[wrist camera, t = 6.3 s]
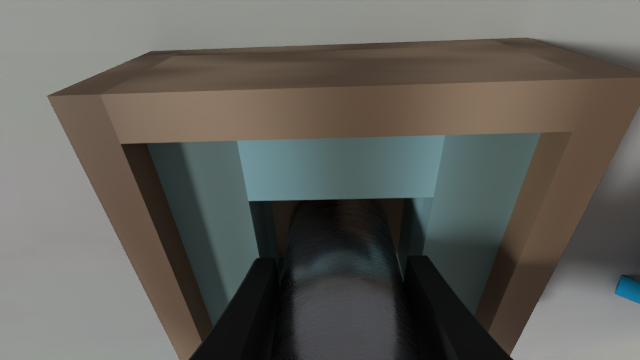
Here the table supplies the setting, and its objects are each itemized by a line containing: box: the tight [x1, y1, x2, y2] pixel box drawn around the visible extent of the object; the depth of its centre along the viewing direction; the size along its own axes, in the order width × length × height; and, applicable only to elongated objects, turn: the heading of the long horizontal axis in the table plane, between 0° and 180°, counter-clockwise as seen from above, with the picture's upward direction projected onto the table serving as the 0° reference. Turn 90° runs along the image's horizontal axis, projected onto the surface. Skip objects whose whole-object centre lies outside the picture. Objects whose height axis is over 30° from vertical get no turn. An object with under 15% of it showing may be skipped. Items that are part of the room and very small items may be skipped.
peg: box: [270, 198, 422, 360], centre depth 10 cm, size 4×4×7 cm
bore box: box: [47, 38, 640, 360], centre depth 12 cm, size 13×13×5 cm
